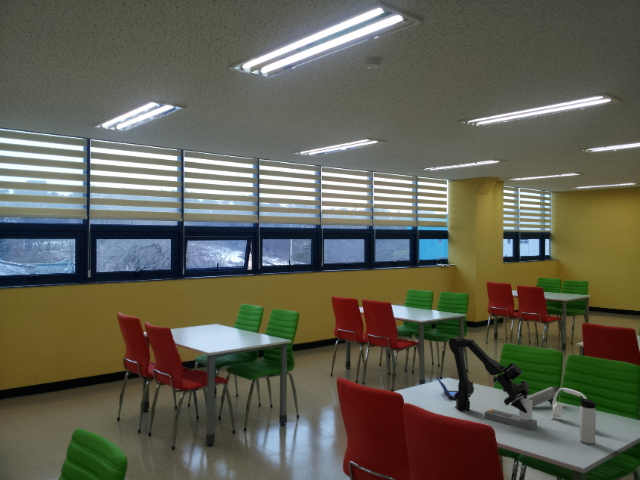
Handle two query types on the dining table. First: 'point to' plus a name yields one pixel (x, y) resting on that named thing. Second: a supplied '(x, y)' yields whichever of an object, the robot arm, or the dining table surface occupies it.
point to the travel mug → (587, 421)
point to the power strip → (510, 419)
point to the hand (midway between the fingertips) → (528, 411)
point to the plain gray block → (528, 407)
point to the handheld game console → (448, 393)
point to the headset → (558, 407)
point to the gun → (543, 396)
